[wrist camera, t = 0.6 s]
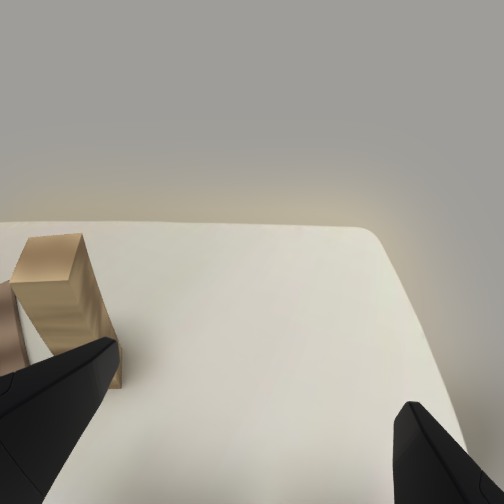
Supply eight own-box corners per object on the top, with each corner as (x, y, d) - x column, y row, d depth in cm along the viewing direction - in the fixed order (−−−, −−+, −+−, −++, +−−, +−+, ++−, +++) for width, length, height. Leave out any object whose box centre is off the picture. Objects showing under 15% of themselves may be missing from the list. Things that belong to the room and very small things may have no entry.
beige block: (121, 388, 23) (68, 280, 14) (78, 388, 22) (9, 282, 14) (122, 343, 26) (84, 227, 18) (82, 344, 25) (31, 232, 17)
